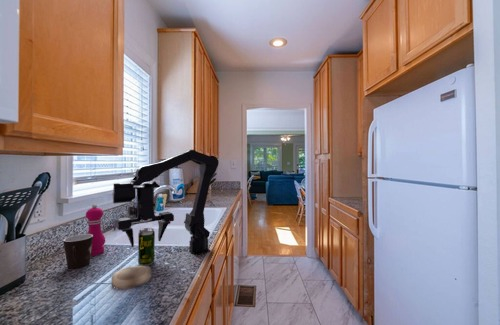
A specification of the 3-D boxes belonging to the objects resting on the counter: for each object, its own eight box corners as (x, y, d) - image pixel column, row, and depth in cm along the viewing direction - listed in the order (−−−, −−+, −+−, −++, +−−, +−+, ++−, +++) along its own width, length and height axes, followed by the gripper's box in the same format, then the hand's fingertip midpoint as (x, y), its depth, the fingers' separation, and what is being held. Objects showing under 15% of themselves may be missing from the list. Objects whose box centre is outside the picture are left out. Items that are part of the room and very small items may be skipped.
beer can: (139, 260, 87) (139, 228, 87) (154, 259, 89) (155, 227, 89) (137, 267, 82) (137, 233, 82) (154, 265, 84) (154, 231, 84)
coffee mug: (76, 260, 89) (75, 234, 89) (98, 260, 89) (98, 234, 89) (49, 275, 78) (48, 244, 78) (74, 275, 77) (74, 244, 77)
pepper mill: (100, 248, 102) (100, 202, 102) (108, 252, 98) (108, 203, 98) (81, 254, 96) (80, 204, 96) (88, 257, 92) (88, 206, 92)
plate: (145, 268, 81) (145, 262, 81) (156, 280, 73) (155, 273, 73) (108, 278, 74) (108, 272, 74) (115, 293, 66) (115, 285, 66)
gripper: (163, 195, 98) (164, 233, 98) (112, 201, 86) (112, 244, 86) (174, 198, 89) (174, 240, 89) (118, 204, 78) (119, 252, 78)
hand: (146, 243), depth 86 cm, fingers open, 9 cm apart
